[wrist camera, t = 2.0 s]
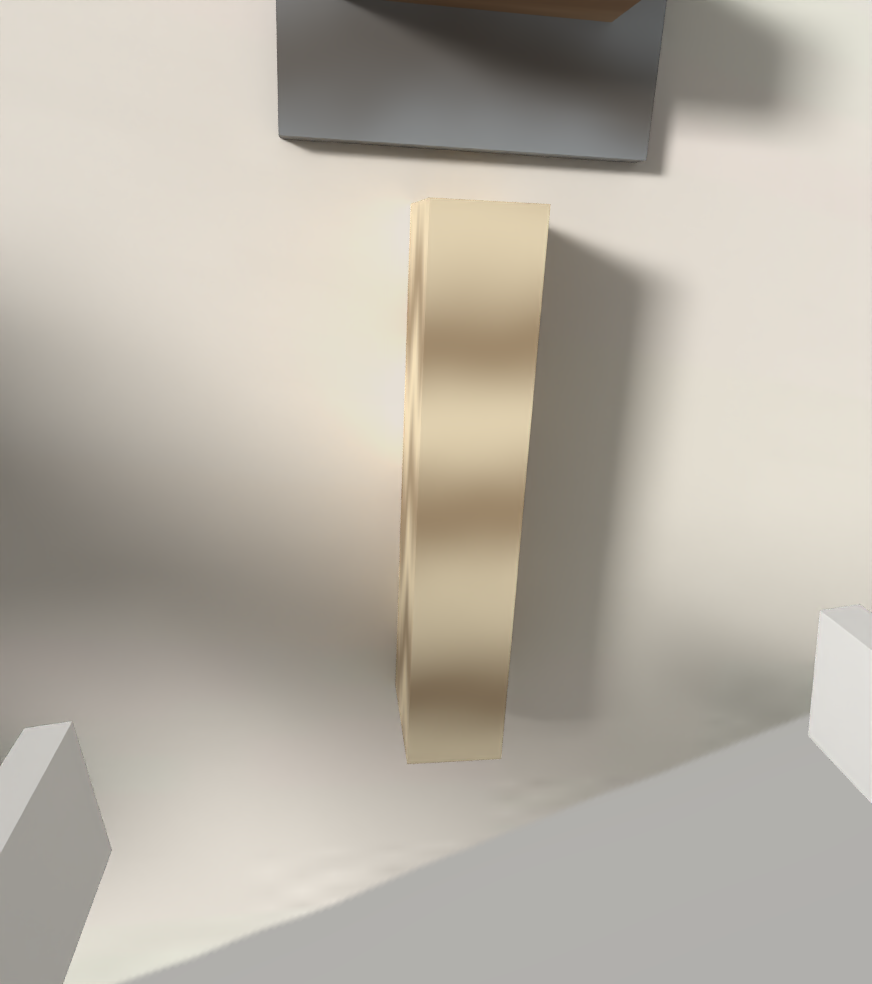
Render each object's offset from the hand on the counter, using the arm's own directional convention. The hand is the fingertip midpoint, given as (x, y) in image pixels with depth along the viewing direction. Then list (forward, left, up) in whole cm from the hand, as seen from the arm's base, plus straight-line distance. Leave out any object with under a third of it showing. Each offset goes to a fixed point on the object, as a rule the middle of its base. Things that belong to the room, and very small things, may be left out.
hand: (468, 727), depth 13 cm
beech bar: (+1, -3, -21) cm, 21 cm away
